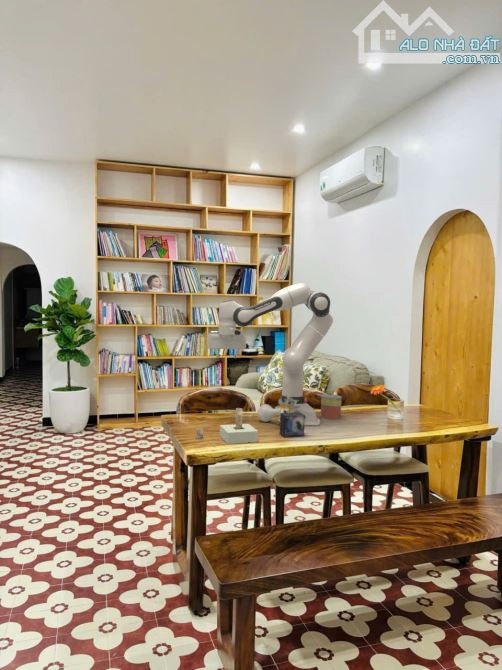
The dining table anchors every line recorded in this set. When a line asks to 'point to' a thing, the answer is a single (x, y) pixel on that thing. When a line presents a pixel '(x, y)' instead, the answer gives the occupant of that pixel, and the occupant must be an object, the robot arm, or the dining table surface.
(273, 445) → the dining table surface
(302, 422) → the small box
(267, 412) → the flower vase
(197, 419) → the dining table surface
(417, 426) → the dining table surface
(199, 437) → the short pin
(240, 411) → the tall pin
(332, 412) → the canned food
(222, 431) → the grey flat block
